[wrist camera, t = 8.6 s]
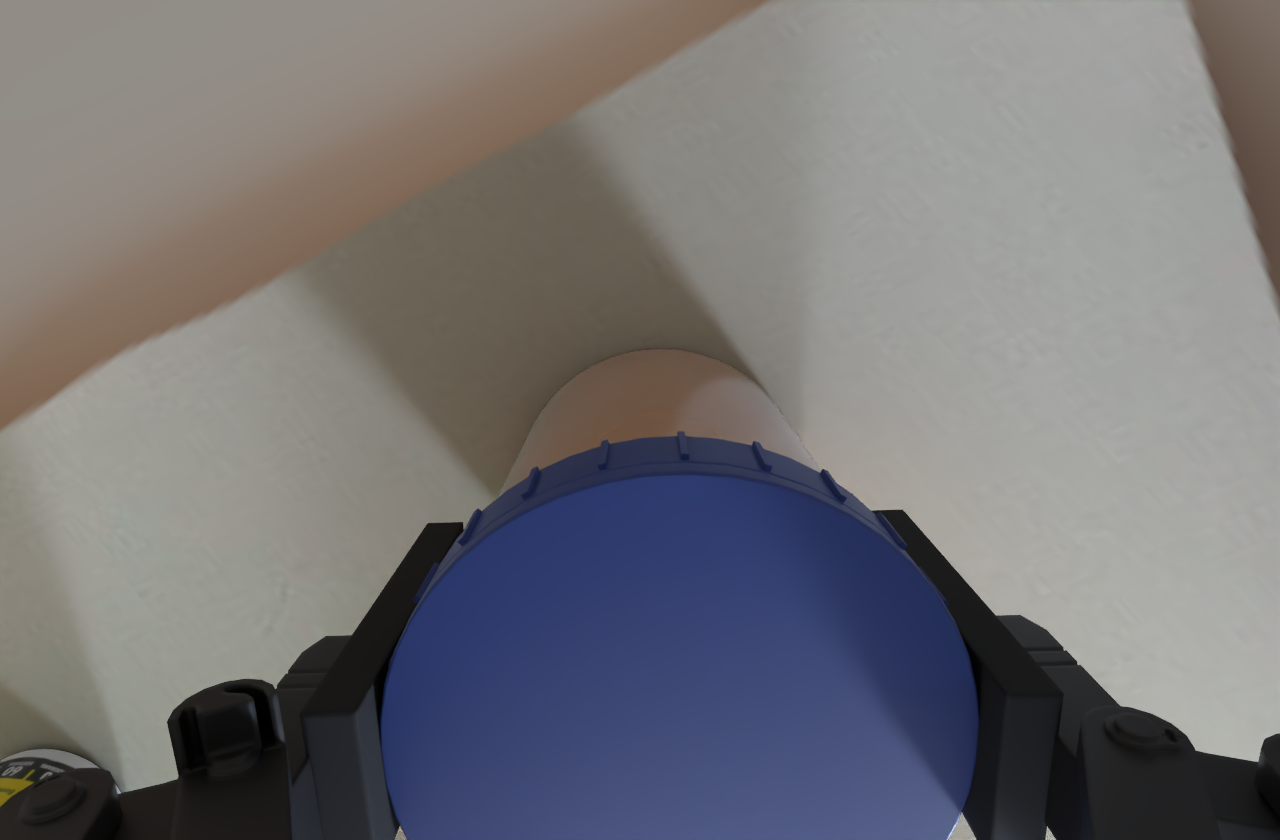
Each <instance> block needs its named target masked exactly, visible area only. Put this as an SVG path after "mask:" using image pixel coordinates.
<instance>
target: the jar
mask: <svg viewBox="0 0 1280 840" xmlns="http://www.w3.org/2000/svg"><path fill="white" fill-rule="evenodd" d="M678 431H684V432H685V436H690V437H704V438H718V439H723V440H728V441H733V442H738V443H743V444H748V445H752V444H753V441H756V442H760V443H761V445H762V447H763V449H766V450H769V451H771V452H774V453H777V454H780V455H783V456H786V457H789V458H791V459H793V460H795V461H798V462H800V463H802V464H804V465H806V466H808V467H810V468H812V469H814V470H816V471H818V472H821V471H822V470H821V469H820V467H819V466H818V465H817V463H816V462H815V460H814V459H813V457H812V456H811V454H810V453H809V452H808V450H807V449H806V447H805V446H804V444H803V443H802V442H801V440H800V439H799V437H798V436H797V434H796V433H795V431H794V430H793V429H792V427H791V426H790V424H789V423H788V421H787V420H786V419H785V417H784V416H783V414H782V413H781V411H780V410H779V409H778V407H777V406H776V405H775V403H774V402H773V401H772V400H771V398H770V397H769V396H768V395H767V394H766V393H765V392H764V391H763V390H762V389H761V388H760V387H759V386H758V385H757V384H756V383H755V382H753V381H752V380H751V379H749V378H748V377H747V376H745V375H744V374H743V373H741V372H740V371H738V370H736V369H734V368H733V367H731V366H729V365H727V364H726V363H723V362H721V361H718V360H716V359H713V358H711V357H708V356H705V355H701V354H697V353H693V352H689V351H682V350H674V349H647V350H640V351H633V352H628V353H625V354H621V355H618V356H614V357H611V358H609V359H606V360H604V361H602V362H599V363H597V364H594V365H593V366H591V367H589V368H588V369H586V370H584V371H583V372H581V373H579V374H578V375H576V376H575V377H574V378H572V379H571V380H570V381H569V382H567V383H566V384H565V385H564V386H562V387H561V388H560V390H559V391H558V392H557V393H556V394H555V395H554V396H553V397H552V398H551V399H550V400H549V401H548V403H547V404H546V405H545V407H544V408H543V409H542V411H541V412H540V414H539V415H538V417H537V419H536V421H535V423H534V424H533V426H532V428H531V430H530V432H529V434H528V436H527V438H526V440H525V442H524V444H523V446H522V448H521V450H520V452H519V454H518V456H517V458H516V460H515V462H514V464H513V467H512V469H511V471H510V473H509V475H508V477H507V479H506V481H505V483H504V485H503V487H502V489H501V491H500V493H499V495H498V497H500V496H501V495H502V494H503V493H504V492H506V491H507V490H508V489H510V488H511V487H513V486H515V485H516V484H518V483H519V482H521V481H523V480H524V479H526V478H527V477H528V476H529V474H530V471H531V469H533V468H534V467H536V466H537V467H538V468H539V470H541V469H543V468H545V467H547V466H549V465H552V464H554V463H556V462H558V461H560V460H562V459H565V458H567V457H569V456H571V455H575V454H578V453H581V452H584V451H587V450H590V449H594V448H597V447H600V446H601V441H604V440H608V441H609V444H612V443H617V442H623V441H629V440H634V439H640V438H650V437H669V436H677V432H678ZM498 497H497V498H498Z"/></svg>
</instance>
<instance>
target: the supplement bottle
mask: <svg viewBox="0 0 1280 840" xmlns="http://www.w3.org/2000/svg"><path fill="white" fill-rule="evenodd" d="M76 768H99V767H97V766H96V765H94V764H93V763H92V762H90V761H88V760H86V759H84V758H82V757H80V756H77V755H75V754H72V753H69V752H65V751H60V750H54V749H36V750H28V751H23V752H20V753H17V754H14V755H11V756H9V757H6V758H5V759H3V760H1V761H0V807H1V806H2V805H3V804H4V803H5V802H6V801H7V800H8V799H9V798H10V797H12V796H13V795H15V794H16V793H18V792H20V791H21V790H23V789H24V788H26V787H28V786H29V785H31V784H32V783H34V782H36V781H38V780H40V779H42V778H47V776H50V775H53V774H55V773H59V772H64V771H68V770H72V769H76ZM115 785H116V784H115ZM116 789H117V794H121V792H120V790H119V789H118V787H117V786H116Z"/></svg>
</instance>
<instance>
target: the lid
mask: <svg viewBox="0 0 1280 840" xmlns="http://www.w3.org/2000/svg"><path fill="white" fill-rule="evenodd" d="M906 547H907V544H906V543H905V542H904V541H903V539H902V538H901V537H900V536H899V534H898V533H897V532H896V531H895V529H894V528H893V527H892V526H891V524H890V523H889V522H888V521H887V519H886V518H885V517H884V516H883V515H882V514H881V512H879V513H878V514H877V515H875V514H874V513H873V512H872V511H871V510H869V509H868V508H867V507H866V506H865V505H864V504H863V503H862V502H861V501H859V500H858V499H857V498H856V497H855V496H854V495H853V494H852V493H850V492H849V491H847V490H846V489H844V488H843V487H841V486H840V485H838V484H837V483H836V482H835V480H834V479H833V478H832V476H831V475H830V473H829V472H828V471H826V470H825V469H822V471H821V472H818V471H816V470H814V469H812V468H810V467H808V466H806V465H804V464H802V463H800V462H798V461H795V460H793V459H791V458H789V457H786V456H783V455H780V454H777V453H774V452H771V451H769V450H766V449H763V447H762V445H761V443H760V442H756V441H753V444H752V445H748V444H743V443H738V442H733V441H728V440H723V439H718V438H704V437H690V436H685V432H684V431H678V432H677V436H669V437H650V438H640V439H634V440H629V441H623V442H617V443H612V444H609V441H608V440H604V441H601V446H600V447H597V448H594V449H590V450H587V451H584V452H581V453H578V454H575V455H571V456H569V457H567V458H565V459H562V460H560V461H558V462H556V463H554V464H552V465H549V466H547V467H545V468H543V469H541V470H539V468H538V467H537V466H536V467H534V468H533V469H531V471H530V474H529V476H528V477H527V478H526V479H524V480H523V481H521V482H519V483H518V484H516V485H515V486H513V487H511V488H510V489H508V490H507V491H506V492H504V493H503V494H502V495H501V496H500V497H498V498H497V499H496V500H495V501H494V502H492V503H491V504H490V505H489V506H488V507H487V508H485V509H484V510H483V511H481V510H479V509H477V510H476V511H475V512H474V513H473V515H472V516H471V518H470V520H469V522H468V524H467V526H466V528H465V529H464V531H463V532H462V534H461V535H460V536H459V537H458V538H457V539H456V541H455V542H454V544H453V545H452V547H451V548H450V550H449V551H448V553H447V554H446V556H445V557H444V559H443V560H442V562H441V563H440V564H438V563H436V562H435V563H434V564H433V566H432V568H431V570H430V571H429V573H428V575H427V577H426V578H425V580H424V582H423V584H422V585H421V587H420V589H419V591H418V592H417V594H416V596H415V598H414V599H413V602H415V603H417V606H416V607H415V609H414V611H413V613H412V615H411V616H410V618H409V620H408V622H407V625H406V627H405V629H404V631H403V633H402V635H401V637H400V639H399V641H398V643H397V646H396V648H395V650H394V653H393V655H392V657H391V659H390V661H389V665H388V667H389V670H388V673H387V676H386V680H385V683H384V690H383V697H382V704H381V711H380V744H381V752H382V759H383V766H384V773H385V780H386V787H387V791H388V794H389V797H390V800H391V803H392V806H393V809H394V812H395V815H396V818H397V820H398V822H399V824H400V826H401V828H402V830H403V832H404V834H405V836H406V838H407V840H948V839H949V837H950V835H951V833H952V831H953V830H954V828H955V826H956V824H957V822H958V820H959V818H960V815H961V813H962V810H963V807H964V805H965V802H966V800H967V797H968V794H969V792H970V789H971V784H972V780H973V775H974V771H975V764H976V755H977V744H978V733H979V722H980V719H979V706H978V694H977V686H976V682H975V678H974V674H973V669H972V665H971V661H970V657H969V654H968V651H967V649H966V646H965V644H964V642H963V639H962V637H961V634H960V632H959V630H958V627H957V625H956V622H955V620H954V619H953V617H952V616H951V614H950V612H949V611H948V609H947V607H948V606H949V604H948V602H947V600H946V599H945V598H944V596H943V595H942V594H941V593H940V591H939V590H938V589H937V587H936V586H935V585H934V584H933V582H932V581H931V580H930V579H929V577H928V576H927V575H926V573H925V572H924V571H923V570H922V568H921V567H920V566H919V567H918V566H917V565H916V564H915V562H914V561H913V560H912V559H911V557H910V556H909V555H908V553H907V552H906V551H905V550H904V549H905V548H906Z"/></svg>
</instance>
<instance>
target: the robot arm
mask: <svg viewBox="0 0 1280 840" xmlns="http://www.w3.org/2000/svg"><path fill="white" fill-rule="evenodd" d="M872 512H873V513H874V514H875V515H877V514H878V513H879V512H881V514H882V515H883V516H884V517H885V518H886V519H887V521H888V522H889V523H890V524H891V526H892V527H893V528H894V529H895V531H896V532H897V533H898V534H899V536H900V537H901V538H902V539H903V541H904V542H905V543H906V544H907V547H906V548H905V549H904V550H905V551H906V552H907V553H908V555H909V556H910V557H911V559H912V560H913V561H914V562H915V564H916V565H917V566H918V567H919V566H920V567H921V568H922V570H923V571H924V572H925V573H926V575H927V576H928V577H929V579H930V580H931V581H932V582H933V584H934V585H935V586H936V587H937V589H938V590H939V591H940V593H941V594H942V595H943V596H944V598H945V599H946V600H947V602H948V604H949V606H948V607H947V609H948V611H949V612H950V614H951V616H952V617H953V619H954V620H955V622H956V625H957V627H958V630H959V632H960V634H961V637H962V639H963V642H964V644H965V646H966V649H967V651H968V654H969V657H970V661H971V665H972V669H973V674H974V678H975V682H976V686H977V694H978V706H979V719H980V722H979V733H978V744H977V755H976V764H975V771H974V775H973V780H972V784H971V789H970V792H969V794H968V797H967V800H966V802H965V805H964V807H963V810H962V813H963V815H964V817H965V818H966V820H967V822H968V824H969V826H970V828H971V830H972V832H973V833H974V835H975V837H976V839H977V840H1045V837H1046V829H1047V826H1048V828H1049V829H1050V831H1051V832H1052V834H1053V835H1054V837H1055V838H1056V840H1280V734H1275V735H1273V736H1271V737H1268V738H1266V739H1265V740H1264V742H1263V745H1262V748H1261V752H1260V757H1259V762H1253V761H1248V760H1242V759H1236V758H1230V757H1225V756H1219V755H1213V754H1208V753H1203V752H1199V751H1195V748H1194V747H1193V745H1192V743H1191V742H1190V740H1189V739H1188V737H1187V736H1186V735H1185V734H1184V733H1183V732H1181V731H1180V730H1179V729H1178V728H1176V727H1175V726H1174V725H1172V724H1171V723H1169V722H1167V721H1165V720H1163V719H1161V718H1159V717H1157V716H1155V715H1153V714H1150V713H1147V712H1144V711H1140V710H1137V709H1134V708H1130V707H1121V706H1120V705H1119V704H1118V703H1117V702H1116V701H1115V700H1114V699H1113V698H1112V697H1111V696H1110V695H1109V694H1108V693H1107V692H1106V691H1105V690H1104V689H1103V688H1102V687H1101V686H1100V685H1099V684H1098V683H1097V682H1096V681H1095V680H1094V679H1093V678H1092V677H1091V675H1090V674H1089V673H1088V672H1087V671H1086V670H1085V669H1084V668H1083V667H1082V666H1081V665H1077V661H1076V660H1075V659H1074V658H1073V657H1072V656H1071V655H1070V654H1069V653H1068V652H1067V651H1064V650H1063V647H1062V646H1061V645H1060V643H1059V642H1058V641H1057V640H1056V639H1055V638H1054V637H1053V636H1052V635H1051V634H1050V633H1049V632H1048V631H1047V630H1046V629H1044V628H1042V627H1040V626H1039V625H1037V624H1035V623H1033V622H1031V621H1030V620H1028V619H1026V618H1024V617H1023V616H1021V615H1005V616H996V615H995V614H994V613H993V612H992V611H991V610H990V609H989V607H988V606H987V605H986V604H985V603H984V602H983V601H982V600H981V598H980V597H979V596H978V595H977V594H976V593H975V592H974V590H973V589H972V588H971V587H970V586H969V585H968V584H967V582H966V581H965V580H964V579H963V578H962V577H961V576H960V574H959V573H958V572H957V571H956V570H955V569H954V568H953V566H952V565H951V564H950V563H949V562H948V561H947V560H946V558H945V557H944V556H943V555H942V554H941V553H940V552H939V551H938V549H937V548H936V547H935V546H934V545H933V544H932V543H931V541H930V540H929V539H928V538H927V537H926V536H925V535H924V533H923V532H922V531H921V530H920V529H919V528H918V527H917V525H916V524H915V523H914V522H913V521H912V520H911V519H910V517H909V516H908V515H907V514H906V513H905V512H904V511H903V510H877V511H872ZM463 531H464V529H463V522H453V523H428V524H427V525H426V527H425V528H424V530H423V531H422V533H421V534H420V535H419V537H418V538H417V540H416V541H415V543H414V544H413V546H412V547H411V549H410V550H409V552H408V553H407V555H406V556H405V558H404V559H403V561H402V562H401V564H400V565H399V567H398V568H397V570H396V571H395V573H394V574H393V576H392V577H391V578H390V580H389V581H388V583H387V584H386V586H385V587H384V589H383V590H382V592H381V593H380V595H379V596H378V598H377V599H376V601H375V602H374V604H373V605H372V607H371V608H370V610H369V611H368V613H367V614H366V616H365V617H364V619H363V620H362V621H361V623H360V624H359V626H358V627H357V629H356V630H355V632H354V633H353V635H351V636H325V637H324V638H322V639H321V640H319V641H318V642H317V643H315V644H314V645H312V646H311V647H309V648H308V649H306V650H305V651H303V652H302V653H301V655H300V656H299V657H298V659H297V660H296V661H295V663H294V664H293V665H292V666H291V668H290V669H289V670H288V674H285V676H284V677H283V678H282V680H281V681H280V682H279V684H278V685H277V689H275V688H274V686H273V685H272V684H270V683H267V682H265V681H263V680H255V679H241V680H235V681H228V682H224V683H221V684H218V685H215V686H212V687H209V688H206V689H204V690H202V691H200V692H198V693H196V694H194V695H193V696H191V697H189V698H187V699H186V700H185V701H183V702H182V703H181V704H180V705H179V706H178V707H176V708H175V709H174V710H173V712H172V714H171V716H170V717H169V719H168V721H167V724H168V728H169V733H170V738H171V742H172V747H173V751H174V756H175V761H176V765H177V770H178V774H179V777H178V779H176V780H173V781H170V782H166V783H163V784H159V785H155V786H150V787H146V788H142V789H138V790H133V791H129V792H125V793H121V794H117V789H116V785H115V781H114V779H113V777H112V776H111V774H110V772H108V771H105V770H103V769H100V768H76V769H72V770H68V771H64V772H59V773H55V774H53V775H50V776H47V778H42V779H40V780H38V781H36V782H34V783H32V784H31V785H29V786H28V787H26V788H24V789H23V790H21V791H20V792H18V793H16V794H15V795H13V796H12V797H10V798H9V799H8V800H7V801H6V802H5V803H4V804H3V805H2V806H1V807H0V840H394V839H395V837H396V834H397V831H398V829H399V826H400V824H399V822H398V820H397V818H396V815H395V812H394V809H393V806H392V803H391V800H390V797H389V794H388V791H387V787H386V780H385V773H384V766H383V759H382V752H381V744H380V711H381V704H382V697H383V690H384V683H385V680H386V676H387V673H388V670H389V667H388V665H389V661H390V659H391V657H392V655H393V653H394V650H395V648H396V646H397V643H398V641H399V639H400V637H401V635H402V633H403V631H404V629H405V627H406V625H407V622H408V620H409V618H410V616H411V615H412V613H413V611H414V609H415V607H416V606H417V603H415V602H413V599H414V598H415V596H416V594H417V592H418V591H419V589H420V587H421V585H422V584H423V582H424V580H425V578H426V577H427V575H428V573H429V571H430V570H431V568H432V566H433V564H434V563H435V562H436V563H438V564H440V563H441V562H442V560H443V559H444V557H445V556H446V554H447V553H448V551H449V550H450V548H451V547H452V545H453V544H454V542H455V541H456V539H457V538H458V537H459V536H460V535H461V534H462V532H463Z"/></svg>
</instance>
